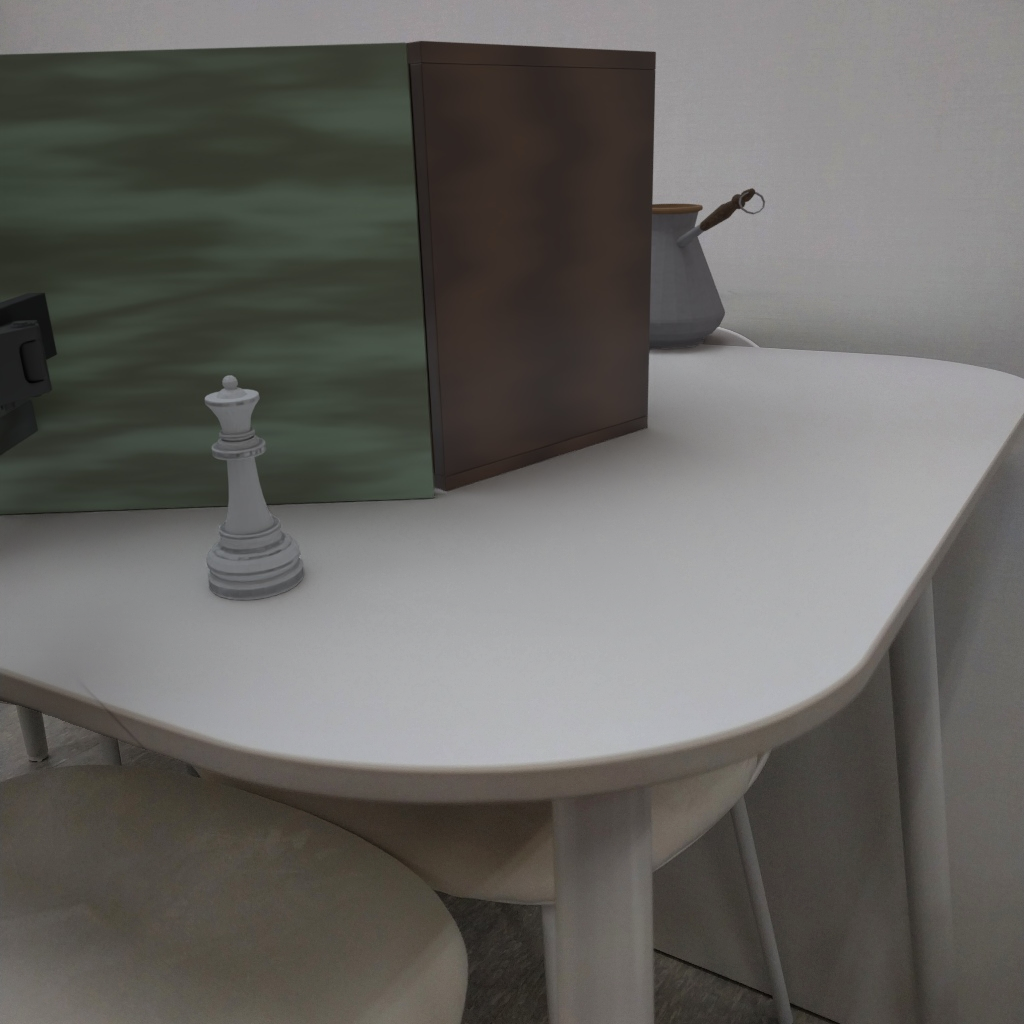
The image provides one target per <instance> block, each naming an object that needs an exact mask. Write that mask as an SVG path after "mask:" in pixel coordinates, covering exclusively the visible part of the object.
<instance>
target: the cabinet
mask: <svg viewBox="0 0 1024 1024" xmlns="http://www.w3.org/2000/svg"><path fill="white" fill-rule="evenodd" d="M405 43H406V44H407V47H408V63H409V79H410V95H411V111H412V128H413V144H414V160H415V176H416V193H417V209H418V225H419V241H420V257H421V274H422V290H423V306H424V322H425V339H426V355H427V371H428V387H429V403H430V420H431V436H432V452H433V468H434V485H435V489H437V490H441V491H443V492H446V493H447V492H450V491H453V490H456V489H459V488H463V487H466V486H468V485H472V484H475V483H478V482H481V481H485V480H487V479H490V478H494V477H497V476H500V475H504V474H507V473H510V472H513V471H517V470H520V469H522V468H525V467H528V466H531V465H535V464H538V463H541V462H545V461H548V460H550V459H554V458H557V457H560V456H563V455H567V454H569V453H573V452H576V451H579V450H583V449H585V448H589V447H593V446H595V445H598V444H601V443H605V442H608V441H611V440H615V439H617V438H620V437H622V436H623V437H624V436H627V435H629V434H633V433H636V432H640V431H643V430H646V429H648V423H649V422H648V421H649V420H648V419H649V416H648V414H649V381H650V379H649V378H650V377H649V376H650V348H649V337H650V292H651V248H652V204H653V203H654V202H653V198H654V197H653V196H654V195H653V194H654V156H655V155H654V153H655V151H654V150H655V114H656V113H655V109H656V107H655V106H656V68H657V63H656V62H657V52H656V51H648V50H626V49H607V48H604V49H602V48H587V47H586V48H584V47H583V48H582V47H564V46H563V47H562V46H543V45H542V46H541V45H540V46H539V45H522V44H521V45H518V44H517V45H516V44H498V43H497V44H495V43H479V42H477V43H476V42H454V41H435V40H433V41H432V40H416V41H409V42H405Z"/></svg>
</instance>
